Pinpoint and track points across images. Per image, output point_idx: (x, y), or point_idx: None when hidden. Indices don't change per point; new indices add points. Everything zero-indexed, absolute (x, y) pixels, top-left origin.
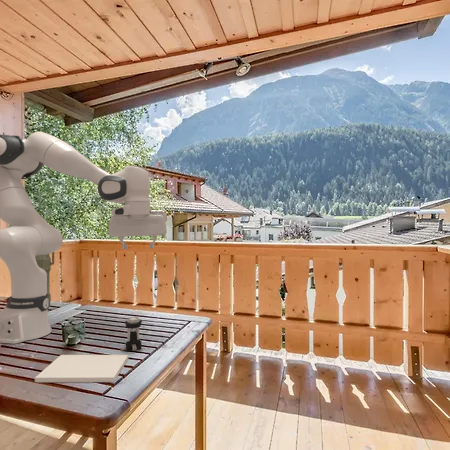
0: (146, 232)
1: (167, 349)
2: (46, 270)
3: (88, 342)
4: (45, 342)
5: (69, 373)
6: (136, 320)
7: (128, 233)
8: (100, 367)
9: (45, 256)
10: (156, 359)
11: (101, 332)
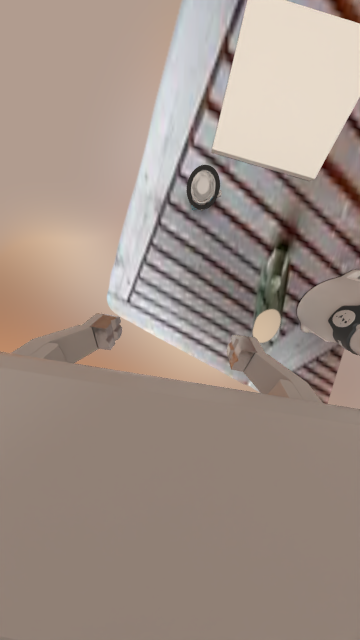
0: (52, 390)
1: (153, 187)
2: None
3: (258, 250)
4: (314, 266)
5: (325, 48)
6: (197, 174)
7: (262, 416)
8: (265, 78)
9: None
10: (169, 137)
11: (237, 287)
